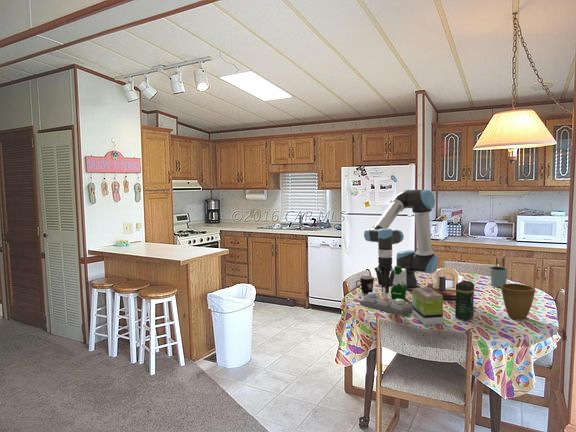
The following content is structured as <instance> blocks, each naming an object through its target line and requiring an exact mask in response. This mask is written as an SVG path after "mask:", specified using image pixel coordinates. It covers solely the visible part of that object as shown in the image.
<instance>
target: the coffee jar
mask: <svg viewBox="0 0 576 432" xmlns="http://www.w3.org/2000/svg"><path fill="white" fill-rule="evenodd" d="M474 294H475V284H474V283H473V282H472V281H469V280H462V281H459V282H457V283H456V285H455V309H454V311H455V312H454V316H455V317H456V318H457V319H459V320H462V319H464V320H467V321H469V320H472V319H473V318H474V316H475V315H474V313H475V309H474V303H475V301H474V298H475V297H474V296H475V295H474Z"/></svg>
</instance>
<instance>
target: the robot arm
mask: <svg viewBox="0 0 576 432" xmlns="http://www.w3.org/2000/svg"><path fill="white" fill-rule="evenodd" d="M435 204H436V199H435V195H434V193H433V191H431V190H429V189H405V190H402V191H401V192H399V193H397V194H396V195H395V196H394V197H393V198H392V199H391V200H390V202H389V205H388V207H387V208H386V210H384V212H383V214H381V216H380V217H379V218H378V220H377V221H376V223H375V224H374V225H373V226H372V227H371V228H366V229H365V230H364V232H363V237H364V240H365V241H366V242H371V243H377V244H378V245H377V246H378V249H377V252H378V257H377V260H378V261H377V262H378V265H377V267H375V268H374V271H375V273H376V278H377V282H378V286H380V287H381V293H382V298H383V299H387V298H389V293H390V288H391V286H392V284H393V280H394V275H395V273H396V270H394V269H392V268H393V245H396V244H399V243H401V242H403V240H404V238H405V236H404V233H403V231H402V230H399V229H394V230H393V229H391V228H389V227H390V226H391V224H392V223H393V222H394V221H395V219H396V218H397V216H399V214H400V213H402V212H403V211H404V210H405V209H411V212H412V213H413V214H414V216H415V217H414V220H415V234H416V246H417V247H416V248H417V250H416V251H415V250H401V251H397V253H396V257H395V260H396V266H401V267H402V268H404V269H406V289H409V288H411V289H412V288H416V287H417V286H418V281H417V276H416V274H415V272H419V273H425V274H433V273H435V272H436V271H437V268H438V265H439V257H438V256H437V255H435V251H434V250H433V249H432V235H431V220H430V218H431V217H430V213H431V212H432V211H433V209H434V208H435V206H436V205H435Z"/></svg>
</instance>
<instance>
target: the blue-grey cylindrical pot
mask: <svg viewBox="0 0 576 432" xmlns="http://www.w3.org/2000/svg"><path fill="white" fill-rule="evenodd" d="M489 272H490V286H491V287H493V286H494V287H493V288H497V287H501V285H503V284H507V278H508V268H507V267H503V266H490V267H489Z"/></svg>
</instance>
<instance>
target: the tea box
mask: <svg viewBox="0 0 576 432" xmlns="http://www.w3.org/2000/svg"><path fill="white" fill-rule="evenodd" d="M411 289H412V290H411V291H412V292H411V295H412V299H411V300H412V302H411V304H412V306H411V307H412V313H411V314H412V316H413V317H414V318H416V320H417V321H419V322H420V323H421V324H422V325H424V326H431V325H442V324H444V295H442V294H441V293H439V292H438V291H436V290H435V289H433V288H431V287H419V288H416V287H412V288H411Z"/></svg>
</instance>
